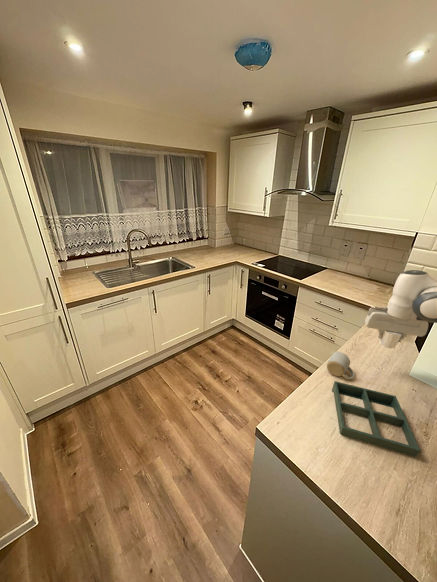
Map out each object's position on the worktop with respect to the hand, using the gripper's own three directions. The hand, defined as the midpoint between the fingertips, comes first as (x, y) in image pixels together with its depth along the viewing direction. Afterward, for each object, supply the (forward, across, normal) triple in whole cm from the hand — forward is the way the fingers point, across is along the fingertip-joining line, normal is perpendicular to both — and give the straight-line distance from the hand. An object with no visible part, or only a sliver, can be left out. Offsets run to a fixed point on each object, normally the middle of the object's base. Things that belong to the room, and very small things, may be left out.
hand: (389, 339), depth 96 cm
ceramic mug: (+16, -16, -8) cm, 24 cm away
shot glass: (+2, 0, 0) cm, 2 cm away
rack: (+16, -10, -30) cm, 35 cm away
